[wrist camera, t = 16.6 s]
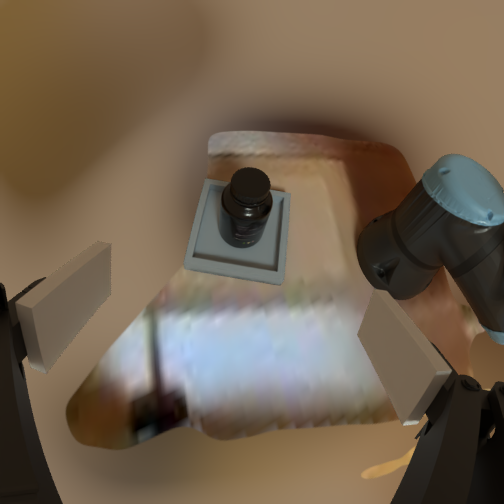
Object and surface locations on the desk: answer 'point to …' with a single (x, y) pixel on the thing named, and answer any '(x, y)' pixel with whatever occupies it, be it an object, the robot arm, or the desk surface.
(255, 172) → the supplement bottle
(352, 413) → the desk surface
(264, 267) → the tray
